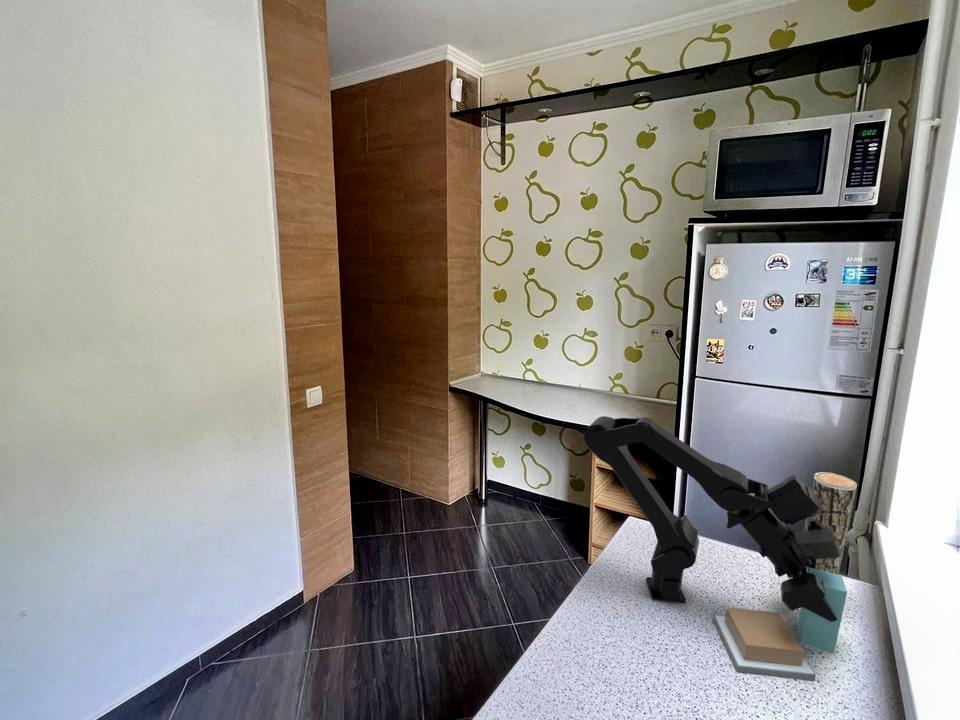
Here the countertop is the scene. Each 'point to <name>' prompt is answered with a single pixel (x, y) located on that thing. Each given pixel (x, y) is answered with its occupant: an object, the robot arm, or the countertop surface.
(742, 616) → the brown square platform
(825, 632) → the teal block
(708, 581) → the countertop surface
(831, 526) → the wooden log
